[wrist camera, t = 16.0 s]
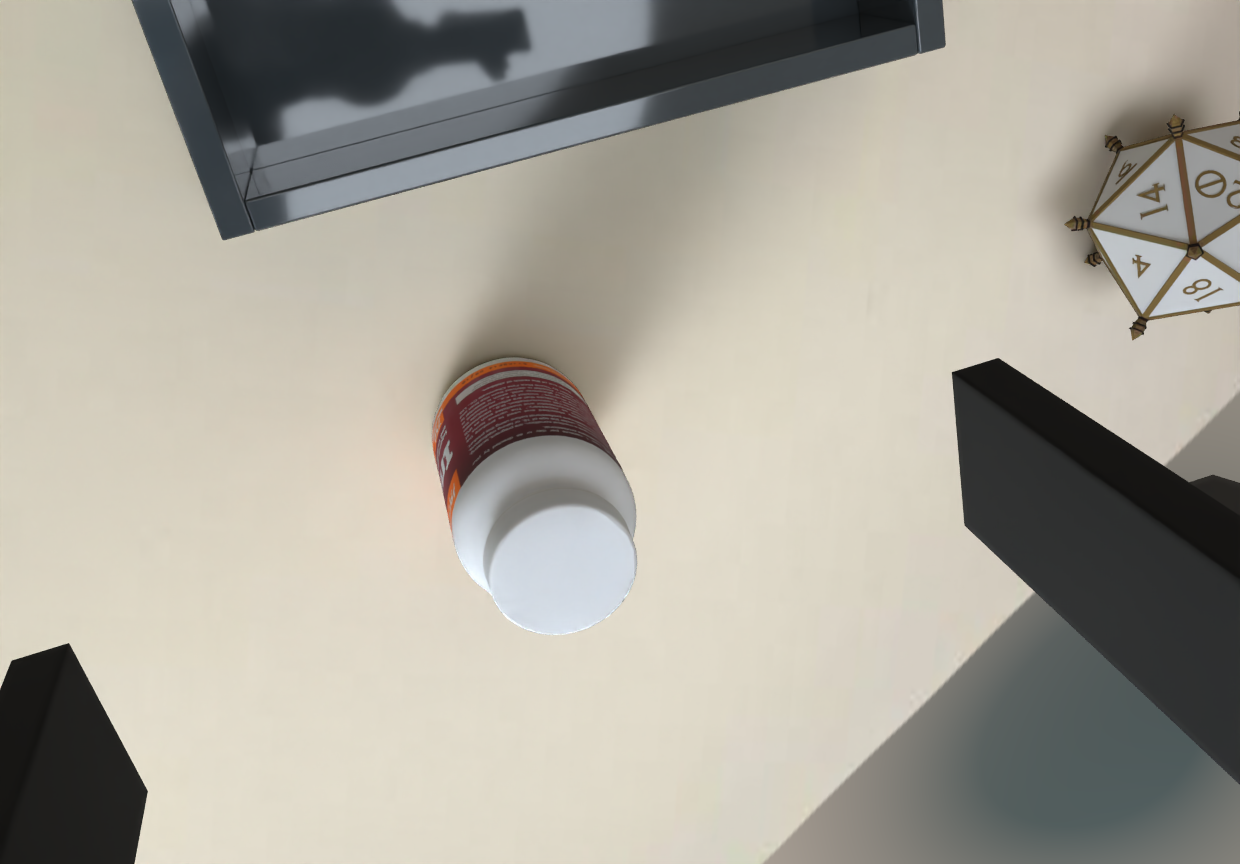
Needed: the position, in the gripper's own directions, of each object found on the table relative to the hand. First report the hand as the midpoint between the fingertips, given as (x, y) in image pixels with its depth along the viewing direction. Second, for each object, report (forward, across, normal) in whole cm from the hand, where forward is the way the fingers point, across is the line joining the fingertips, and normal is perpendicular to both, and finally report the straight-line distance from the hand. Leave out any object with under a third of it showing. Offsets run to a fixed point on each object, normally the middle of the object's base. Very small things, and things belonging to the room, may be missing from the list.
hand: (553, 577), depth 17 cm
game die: (+27, -28, +8) cm, 40 cm away
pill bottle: (+27, -1, +10) cm, 29 cm away
